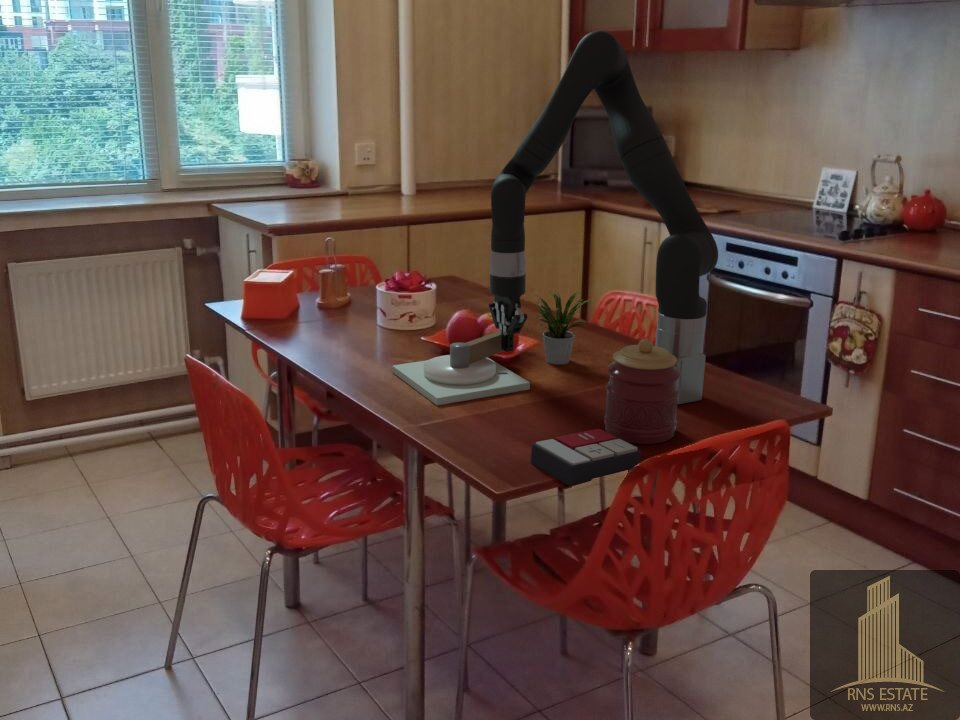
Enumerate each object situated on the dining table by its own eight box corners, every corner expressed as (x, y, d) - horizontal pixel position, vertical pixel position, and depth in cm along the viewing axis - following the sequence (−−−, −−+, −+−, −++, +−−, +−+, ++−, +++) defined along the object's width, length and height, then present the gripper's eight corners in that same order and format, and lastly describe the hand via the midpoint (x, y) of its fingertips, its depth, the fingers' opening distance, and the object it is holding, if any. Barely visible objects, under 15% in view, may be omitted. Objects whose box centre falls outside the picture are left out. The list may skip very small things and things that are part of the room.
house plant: (594, 352, 216) (598, 283, 211) (595, 371, 203) (600, 298, 198) (532, 349, 218) (535, 280, 213) (529, 368, 205) (532, 295, 199)
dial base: (529, 389, 192) (530, 381, 192) (436, 405, 183) (436, 397, 182) (479, 359, 210) (479, 351, 210) (392, 372, 201) (392, 364, 200)
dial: (465, 389, 186) (465, 361, 184) (408, 373, 195) (408, 346, 193) (533, 361, 204) (534, 335, 202) (478, 347, 212) (479, 322, 211)
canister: (659, 416, 179) (666, 327, 173) (687, 443, 167) (696, 348, 161) (594, 420, 176) (599, 330, 171) (618, 448, 164) (624, 351, 159)
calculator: (643, 447, 156) (572, 462, 148) (640, 471, 158) (570, 487, 149) (599, 425, 165) (531, 439, 157) (597, 448, 166) (529, 463, 158)
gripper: (539, 275, 193) (538, 356, 198) (507, 264, 204) (507, 340, 209) (507, 279, 190) (507, 361, 195) (477, 267, 201) (477, 345, 206)
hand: (507, 350), depth 202 cm, fingers closed
